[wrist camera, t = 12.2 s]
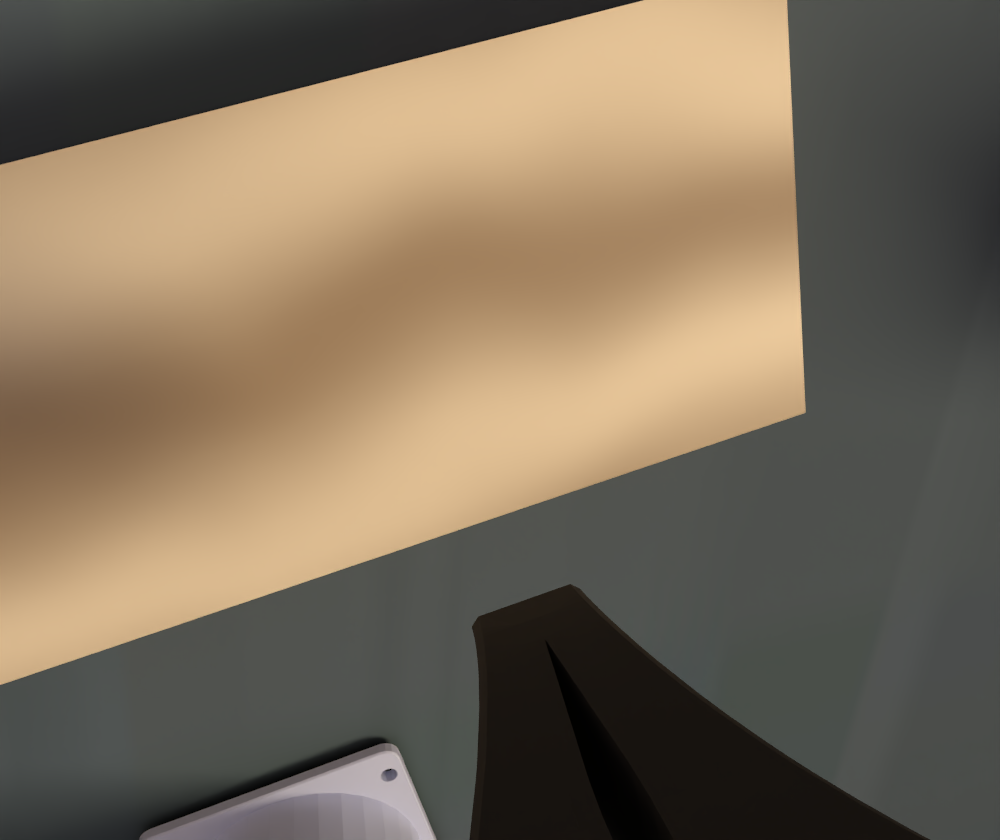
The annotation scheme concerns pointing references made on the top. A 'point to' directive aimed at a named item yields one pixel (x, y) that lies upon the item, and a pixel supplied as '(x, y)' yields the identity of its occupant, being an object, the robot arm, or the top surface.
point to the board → (386, 312)
